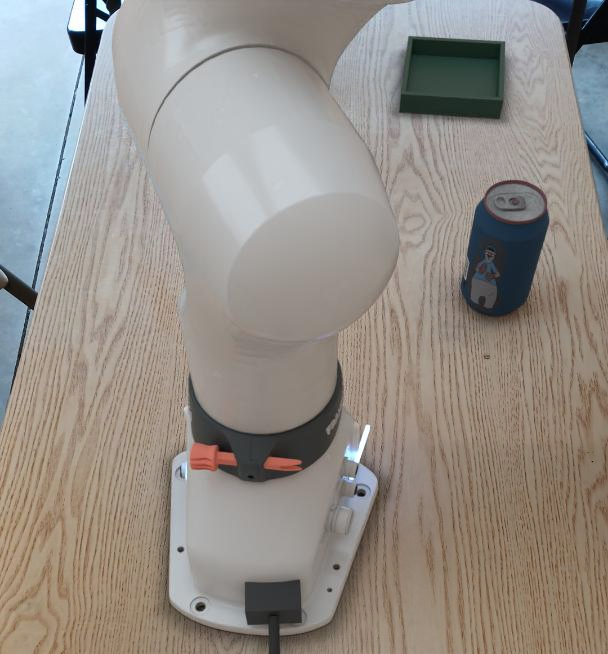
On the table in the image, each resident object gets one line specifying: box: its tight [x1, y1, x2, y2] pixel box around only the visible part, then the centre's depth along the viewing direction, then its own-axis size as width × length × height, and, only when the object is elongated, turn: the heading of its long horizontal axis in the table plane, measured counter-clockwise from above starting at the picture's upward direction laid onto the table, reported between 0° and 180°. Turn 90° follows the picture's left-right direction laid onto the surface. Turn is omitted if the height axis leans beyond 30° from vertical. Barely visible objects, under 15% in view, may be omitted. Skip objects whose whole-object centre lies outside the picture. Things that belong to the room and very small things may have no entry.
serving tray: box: [398, 35, 506, 120], centre depth 103 cm, size 12×12×2 cm
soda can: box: [460, 179, 551, 319], centre depth 81 cm, size 7×7×12 cm
